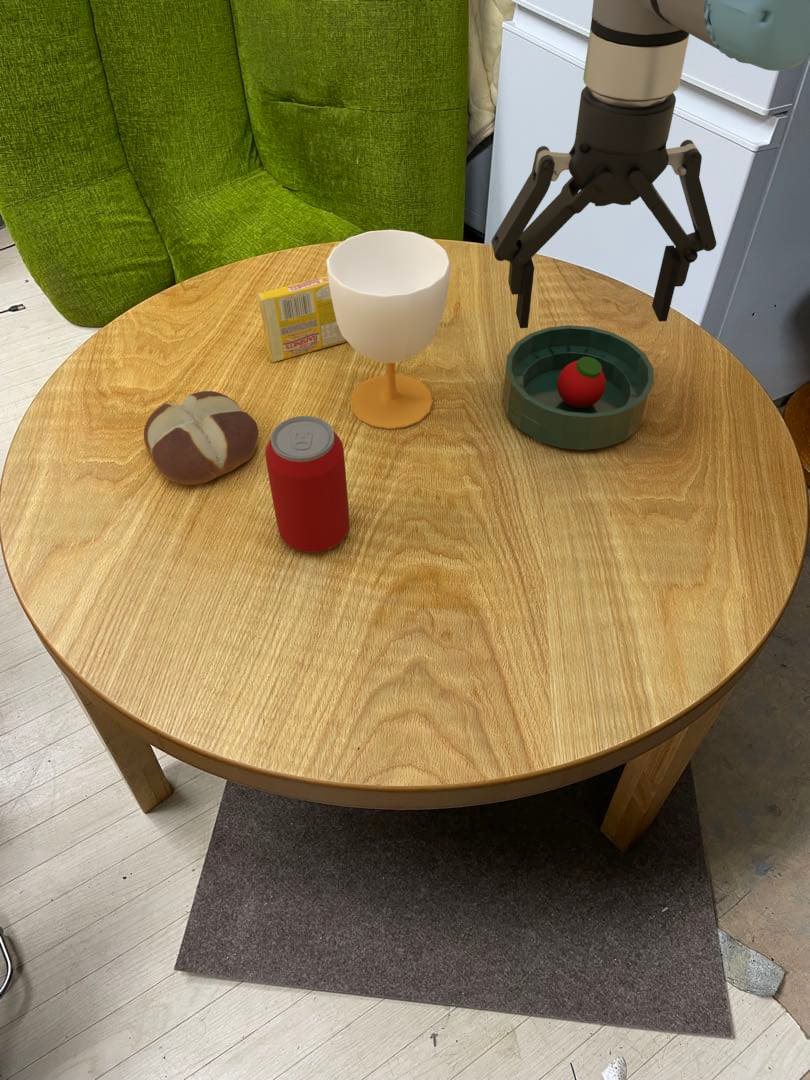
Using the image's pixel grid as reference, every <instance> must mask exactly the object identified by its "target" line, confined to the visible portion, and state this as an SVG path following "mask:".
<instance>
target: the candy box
mask: <svg viewBox="0 0 810 1080" xmlns="http://www.w3.org/2000/svg"><path fill="white" fill-rule="evenodd" d="M257 298H258V304H259V310H260V316H261V321H262V327H263V332H264V338H265V344H266V351H267V356H268V357H269V360H270V361H271V362H272V363H276V362H279V361H283V360H287V359H290V358H294V357H298V356H301V355H304V354H307V353H311V352H315V351H318V350H322V349H325V348H330V347H332V346H333V347H334V346H336V345H339V344H340V345H341V344H343V343H348V342H347V340H346V339H345V338H344V337H343V336H342V334H341V331H340V329H339V327H338V324H337V321H336V317H335V312H334V308H333V303H332V298H331V293H330V287H329V280H328V275H324V276H320V277H317V278H312V279H308V280H305V281H301V282H297V283H292V284H290V285H286V286H282V287H278V288H273V289H270V290H265V291H262V292H258V293H257Z"/></svg>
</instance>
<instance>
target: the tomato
mask: <svg viewBox="0 0 810 1080" xmlns="http://www.w3.org/2000/svg"><path fill="white" fill-rule="evenodd" d="M605 386H606V380H605V376H604V373H603V371H602V366H601V364H600V363H599V362H598V361H597V360H596V359H594V358H591V357H582V358H580V359H579V360H578V361H574V362H572V363H570V364H568V365H567V366H566V367H565V368H564V369H563V370H562V371H561V373H560V375H559V378H558V383H557V387H558V392H559V395H560V397H561V398H562V400H563V401H564V402H565V403H566V404H568V405H570V406H572V407H575V408H587V407H590V406H592V405H594V404H595V403H596V402H598V401H599V400H600V398H601V397H602V395H603V393H604V391H605Z"/></svg>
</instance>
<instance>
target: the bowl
mask: <svg viewBox="0 0 810 1080" xmlns="http://www.w3.org/2000/svg"><path fill="white" fill-rule="evenodd" d="M582 357H591V358H594V359H596V360H597V361H598V362H599V363H600V364H601V366H602V371H603V373H604V376H605V380H606V386H605V391H604V393H603V395H602V397H601V398H600V400H599V401H598V402H596V403H595V404H594V405H592V406H590V407H587V408H575V407H572V406H570V405H568V404H566V403H565V402H564V401H563V400H562V398H561V397H560V395H559V392H558V387H557V383H558V378H559V375H560V373H561V371H562V370H563V369H564V368H565V367H566V366H567V365H568V364H570V363H572V362H574V361H578V360H579V359H580V358H582ZM654 385H655V372H654V367H653V365H652V363H651V360H649V357H648V356H647V354H646V353H645V352H644V351H642V350H641V348H639V347H638V346H637V345H635V344H634V343H633V341H631V340H629V339H627V338H624V337H623V336H620V335H619V334H617V333H614V332H612V331H608V330H606V329H605V330H604V329H601V328H597V327H593V326H585V325H573V324H565V325H558V326H549V327H546V328H543V329H539V330H537V331H533V332H531V333H529V334H527V335H525V336H524V337H523V338H521V339H519V340H518V341H517V342H515V344H514V345H513V347H512V348H511V350H510V351H509V352H508V354H507V355H506V362H505V371H504V382H503V392H502V405H503V407H504V411H505V414H506V416H507V417H508V418H509V420H510V421H511V422H512V423H513V424H514V425H515V426H516V427H517V428H518V429H519V430H520V432H523V433H524V434H526V435H528V436H530V437H531V438H533V439H534V440H536V441H538V442H540V443H544V444H547V445H550V446H553V447H556V448H560V449H567V450H579V451H589V450H596V449H597V450H598V449H603V448H609V447H611V446H614V445H616V444H620V443H621V442H625V441H626V440H627V439H629V438H630V437H631V436H632V435H633V434H635V433H636V432H637V431H638V430H639V429H640V428H641V425H642V424H643V422H644V420H645V418H646V416H647V411H648V408H649V404H650V400H651V397H652V393H653V389H654Z"/></svg>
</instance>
